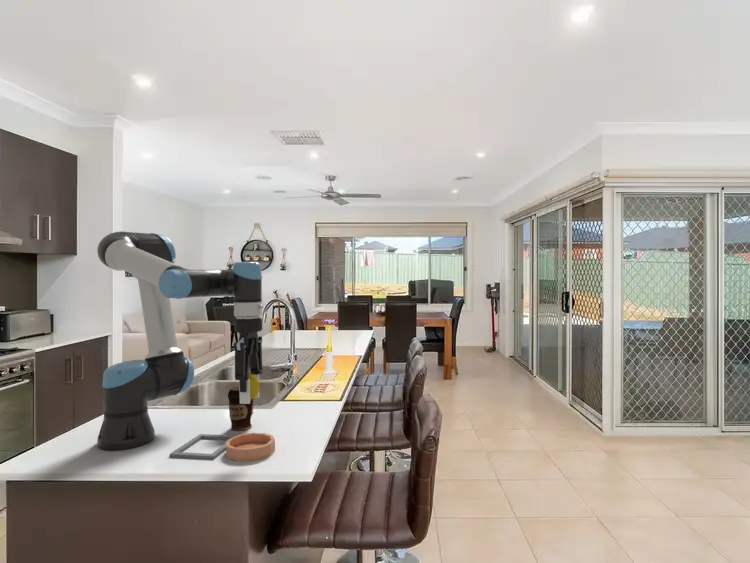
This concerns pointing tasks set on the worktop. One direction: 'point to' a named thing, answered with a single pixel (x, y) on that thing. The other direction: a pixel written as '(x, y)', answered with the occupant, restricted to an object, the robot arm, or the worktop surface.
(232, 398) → the coffee cup
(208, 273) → the robot arm
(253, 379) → the lemon
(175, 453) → the gray rectangular frame
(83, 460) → the worktop surface
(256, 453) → the bowl
